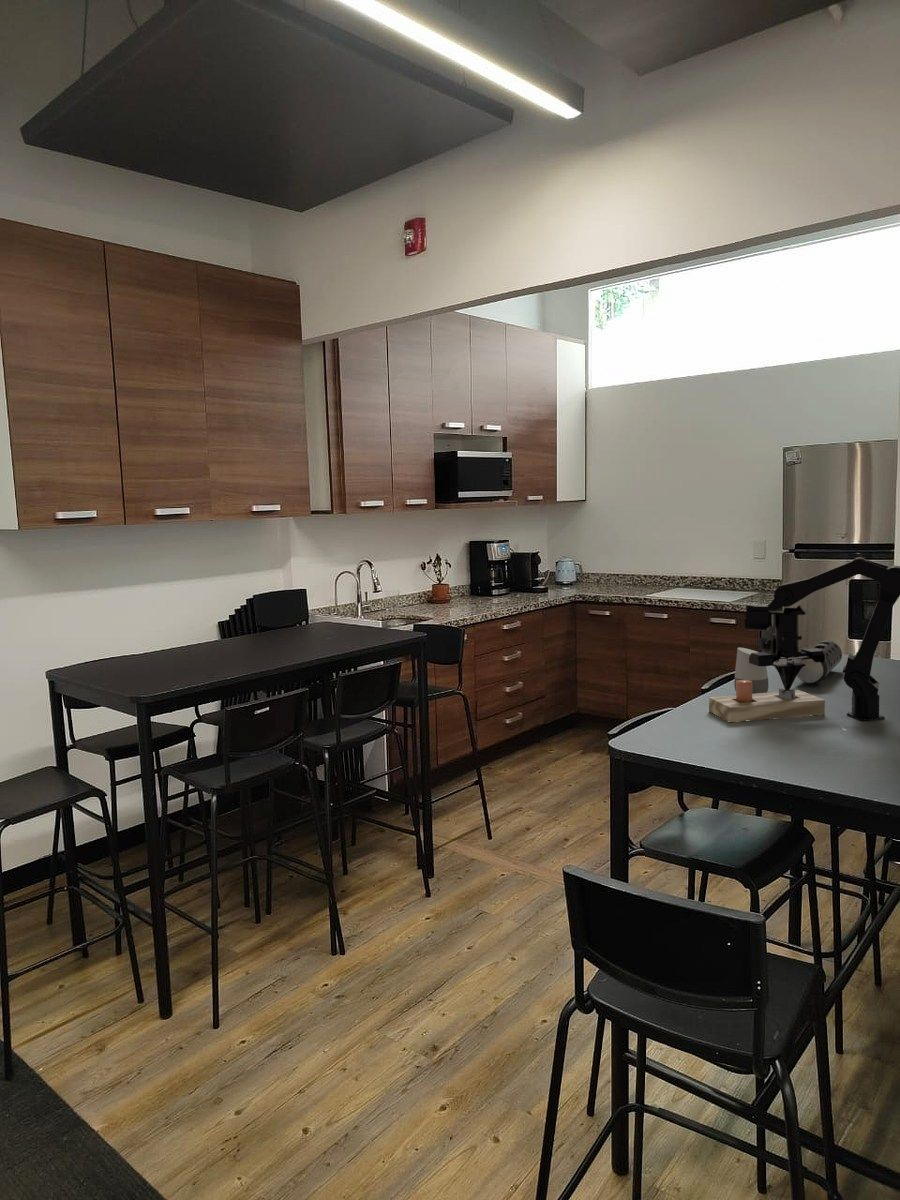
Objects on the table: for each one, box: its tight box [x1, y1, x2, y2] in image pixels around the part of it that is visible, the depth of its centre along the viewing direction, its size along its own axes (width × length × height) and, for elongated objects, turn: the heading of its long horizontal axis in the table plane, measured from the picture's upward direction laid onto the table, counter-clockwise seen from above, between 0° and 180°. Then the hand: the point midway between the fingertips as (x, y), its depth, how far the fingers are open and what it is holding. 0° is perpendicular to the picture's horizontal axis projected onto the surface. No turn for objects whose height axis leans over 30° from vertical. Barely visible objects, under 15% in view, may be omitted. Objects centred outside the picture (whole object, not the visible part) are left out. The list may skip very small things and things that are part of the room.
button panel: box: [708, 689, 826, 723], centre depth 215 cm, size 12×26×4 cm, turn 98°
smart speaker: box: [733, 647, 769, 694], centre depth 234 cm, size 10×9×14 cm
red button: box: [735, 680, 752, 703], centre depth 214 cm, size 4×4×6 cm
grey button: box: [778, 687, 796, 700], centre depth 216 cm, size 4×4×6 cm
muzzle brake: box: [796, 640, 843, 685], centre depth 253 cm, size 10×28×10 cm, turn 145°
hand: (787, 689), depth 215 cm, fingers closed, pressing on grey button
